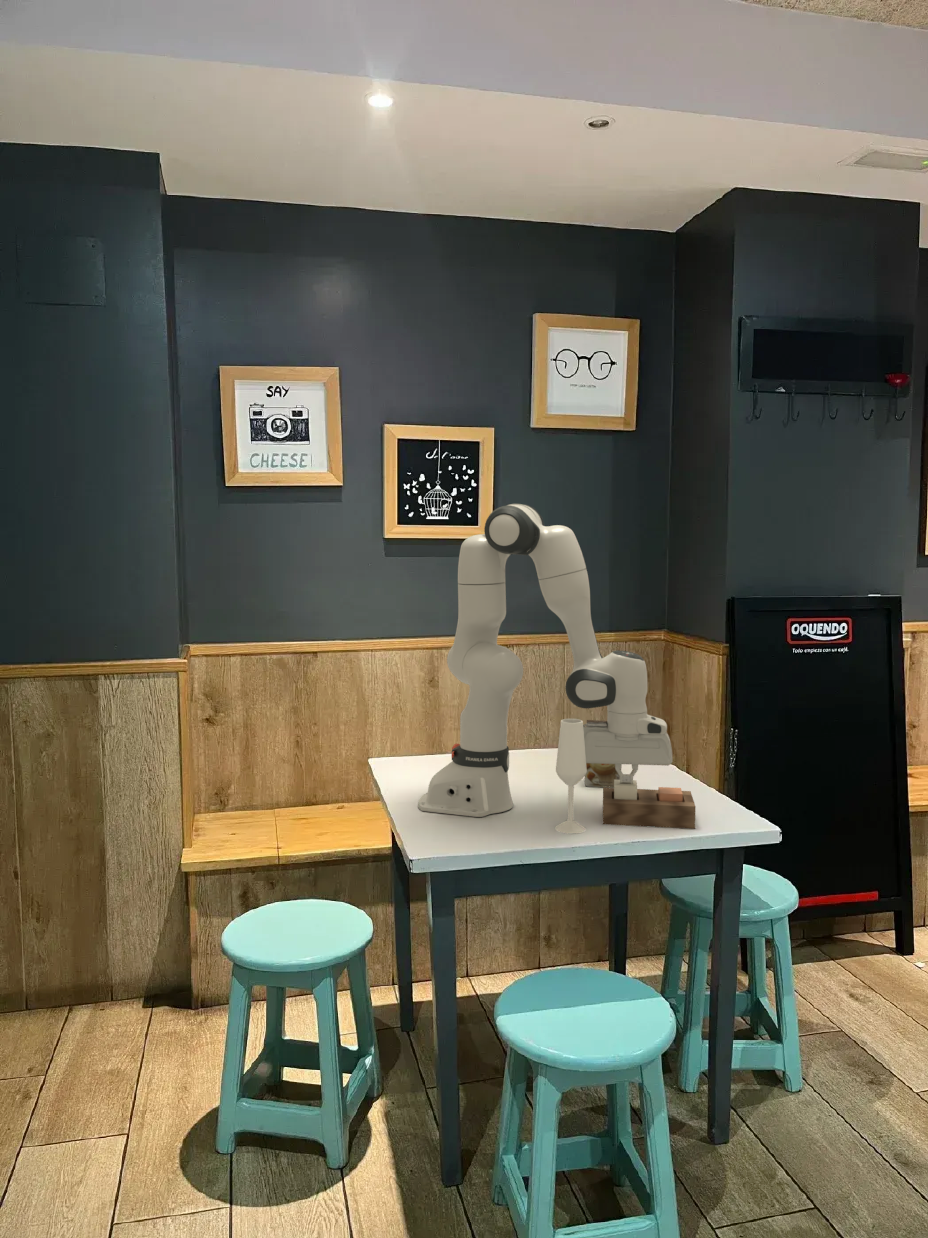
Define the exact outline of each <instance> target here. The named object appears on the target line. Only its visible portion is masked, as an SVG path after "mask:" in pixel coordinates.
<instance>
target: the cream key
mask: <svg viewBox="0 0 928 1238" xmlns="http://www.w3.org/2000/svg"><path fill="white" fill-rule="evenodd" d="M613 788H614V799H624V800H637V789H638V782H637V780H635V779H633V784H629V783H620V780H614V787H613Z"/></svg>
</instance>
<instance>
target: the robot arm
mask: <svg viewBox="0 0 928 1238" xmlns="http://www.w3.org/2000/svg"><path fill="white" fill-rule="evenodd" d="M543 519H544V518H543V516H542V515H541V514H540V512H539V511H538V510H537V509H536V508H535V507H533V506H530V505H528V504H521V503H511V504H507V505H503V506H500V507H497V508H495V509H494V510H492V512H491V513H490V514H489V515H488V517H487V519H486V520H485V523H484V528H483V529H484V533H483V534H482V533H481V534H479V533H478V534H474V535H471V536H469V537H467V538H466V539H465V540H464V541H463V542H462V543H461V546H460V549H459V556H458V565H457V596H458V599H457V601H458V604H457V605H458V607H457V608H458V609H457V610H458V614H457V615H458V617H457V618H458V619H457V625H456V630H455V635H454V640H453V644H452V646H451V648H450V649H449V651H448V653H447V658H446V664H447V668H448V670H449V671H450V672H451V674H452V675H453V676H454V678H456V680H458V681H460V682H461V683H463V684H465V685H468V686H469V689H468V690H469V693H468V697H467V701H466V703H465V707H464V708H463V710H462V711H461V713H460V717H459V719H460V720H459V723H460V724H459V727H460V728H459V731H460V732H459V733H460V734H459V743H454V744H453V746H452V747H451V762H449V763H448V764H447V765H445V766H444V767H443V768H441V769H440V770H439V771H437V772H436V773H435V774H434V775H433V776H432V777H431V778H430V781H429V783H428V788H427V792H426V793H424V794H422V795H421V796H420V798H419V799H418V804H417V807H418V809H419V810H420V811H422V812H429V813H430V812H431V813H438V814H446V815H447V814H448V815H457V816H467V817H474V818H481V817H487V816H489V815H491V814H498V813H502V812H506V811H509V810H510V809H512V808H514V806H515V805H514V801H513V797H512V794H511V788H510V781H509V772H508V771H509V769H510V752H509V751H510V750H509V749H510V748H509V746H508V719H509V718H508V717H509V709H510V705H511V702H512V698H513V694H514V691H515V689H516V688H517V687H518V686H519V685H520V683H521V682H522V679H523V676H524V665H523V662H522V660H521V659H520V657H519V656H518V655H517V654H516V653H515V652H514V651H512V650H511V649H510V648H508V647H507V646H502V645H499V644H498V636H499V632H500V628H501V625H502V622H503V621H504V620H505V618H506V615H507V599H506V598H507V597H506V596H507V593H506V590H507V589H506V563H507V561H508V559H509V557H510V556H512V555H516V556H517V555H519V556H529V557H530V558H531V560H532V561H533V563H534V566H535V570H536V573H537V574H536V575H537V578H538V579H537V580H538V583H539V584H538V585H539V588H540V591H541V594H542V596H543V599H544V601H545V603H546V606H547V608H548V609H549V610H550V611H551V612H552V613H554V614H555V615H556V616H557V617H558V618H559V619H560V620H561V623H562V624H563V626H564V628H565V631H566V635H567V639H568V643H569V645H570V646H569V647H570V651H571V653H572V658H573V666H572V671H571V673H570V674H569V676H568V678H567V679H566V682H565V694H566V697H567V699H568V700H569V701H570V702H571V704H573V705H574V706H576V707H578V708H581V709H586V710H587V709H594V708H595V709H596V708H602V707H607V710H606V713H607V717H606V718H607V719H606V721H607V722H598V723H593V722H587V721H586V723H583V730H584V743H585V755H586V763H599V764H615V769H616V771H617V772H618V774H619V776H620V783H629V784H633V780H634V777H635V775H636V773H637V772H638V770H639V766H640V765H641V766H643V765H644V766H664V767H665V766H670V765H671V764H672V763H673V748H672V742H671V740H670V739H671V737H670V735H669V734H668V732H667V731H668V724H667V722H666V721H665V719H662V718H659V717H656V716H653V715H651V714H648V706H647V703H646V699H647V698H646V697H647V695H648V670H647V664H646V661H645V659H644V658H643V657H642V656H641V655H640V654H638V653H636V652H631V651H627V650H613V651H612V652H610V653H608V654H607V655H606V656H604V657H603V655H602V653H601V652H600V651H601V650H600V649H599V645H598V640H597V636H596V633H595V629H594V625H593V620H592V614H591V589H590V587H591V586H590V580H589V575H588V574H589V573H588V571H587V570H588V569H587V565H586V562H585V557H584V555H583V552H582V549H581V547H580V544H579V542H578V539H577V537H576V535H575V533H574V530H572V529H571V528H569V527H568V526H565V525H561V524H559V525H558V524H556V525H550V526H549V525H548V526H545V522H544V520H543ZM586 726H587V727H586ZM622 765H631V772H630V773H629V774H628V773H623V771H622ZM620 769H621V770H620Z"/></svg>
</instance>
